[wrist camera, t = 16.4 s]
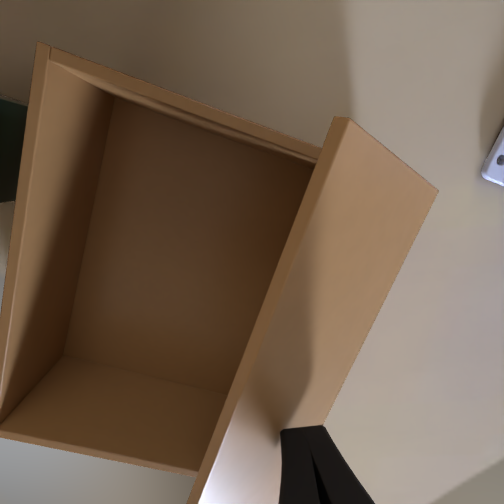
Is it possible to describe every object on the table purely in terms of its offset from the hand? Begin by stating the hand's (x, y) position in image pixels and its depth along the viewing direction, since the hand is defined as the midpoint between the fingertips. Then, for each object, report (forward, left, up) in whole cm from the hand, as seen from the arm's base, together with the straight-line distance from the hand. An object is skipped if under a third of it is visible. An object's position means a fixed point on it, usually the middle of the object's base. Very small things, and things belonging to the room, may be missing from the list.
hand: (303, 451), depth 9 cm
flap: (-1, -1, -1) cm, 2 cm away
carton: (-2, -5, -8) cm, 10 cm away
